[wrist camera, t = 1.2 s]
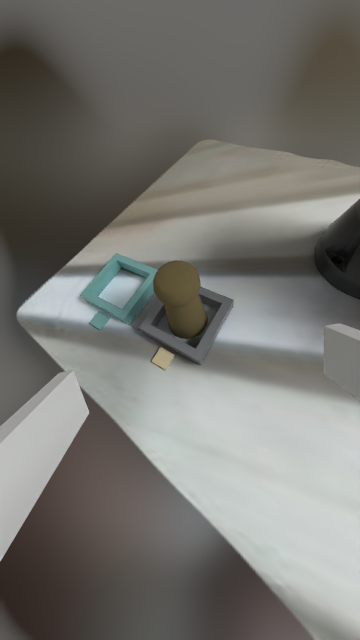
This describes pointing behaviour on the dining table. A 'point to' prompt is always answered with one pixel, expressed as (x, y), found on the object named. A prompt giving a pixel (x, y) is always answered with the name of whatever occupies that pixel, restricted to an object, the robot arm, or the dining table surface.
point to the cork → (181, 298)
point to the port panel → (153, 310)
